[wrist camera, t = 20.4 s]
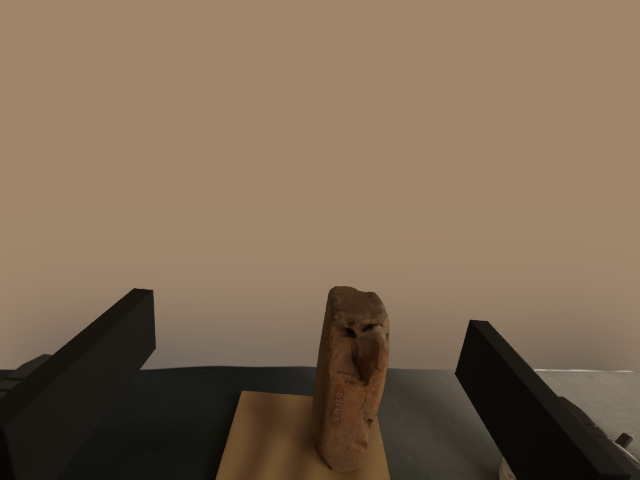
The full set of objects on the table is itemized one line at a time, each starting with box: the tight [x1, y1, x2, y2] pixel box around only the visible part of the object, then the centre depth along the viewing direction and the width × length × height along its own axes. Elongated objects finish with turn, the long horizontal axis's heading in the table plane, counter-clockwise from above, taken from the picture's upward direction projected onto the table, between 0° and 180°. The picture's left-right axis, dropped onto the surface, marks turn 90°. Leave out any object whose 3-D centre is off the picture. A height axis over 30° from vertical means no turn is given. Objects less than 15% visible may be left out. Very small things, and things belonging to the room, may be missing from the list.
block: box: [311, 286, 389, 472], centre depth 40 cm, size 11×8×20 cm
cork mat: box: [216, 391, 390, 480], centre depth 43 cm, size 20×14×1 cm
